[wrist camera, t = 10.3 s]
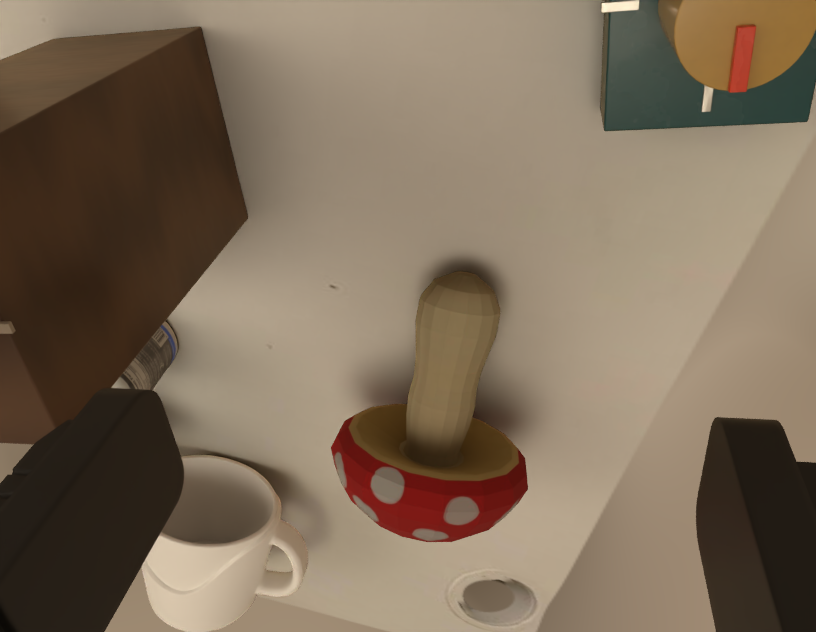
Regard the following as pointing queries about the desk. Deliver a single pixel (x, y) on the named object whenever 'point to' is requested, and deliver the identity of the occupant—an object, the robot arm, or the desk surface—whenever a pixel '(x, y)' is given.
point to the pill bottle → (150, 361)
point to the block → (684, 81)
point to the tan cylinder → (737, 38)
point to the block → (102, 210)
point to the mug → (220, 547)
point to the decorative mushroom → (436, 429)
